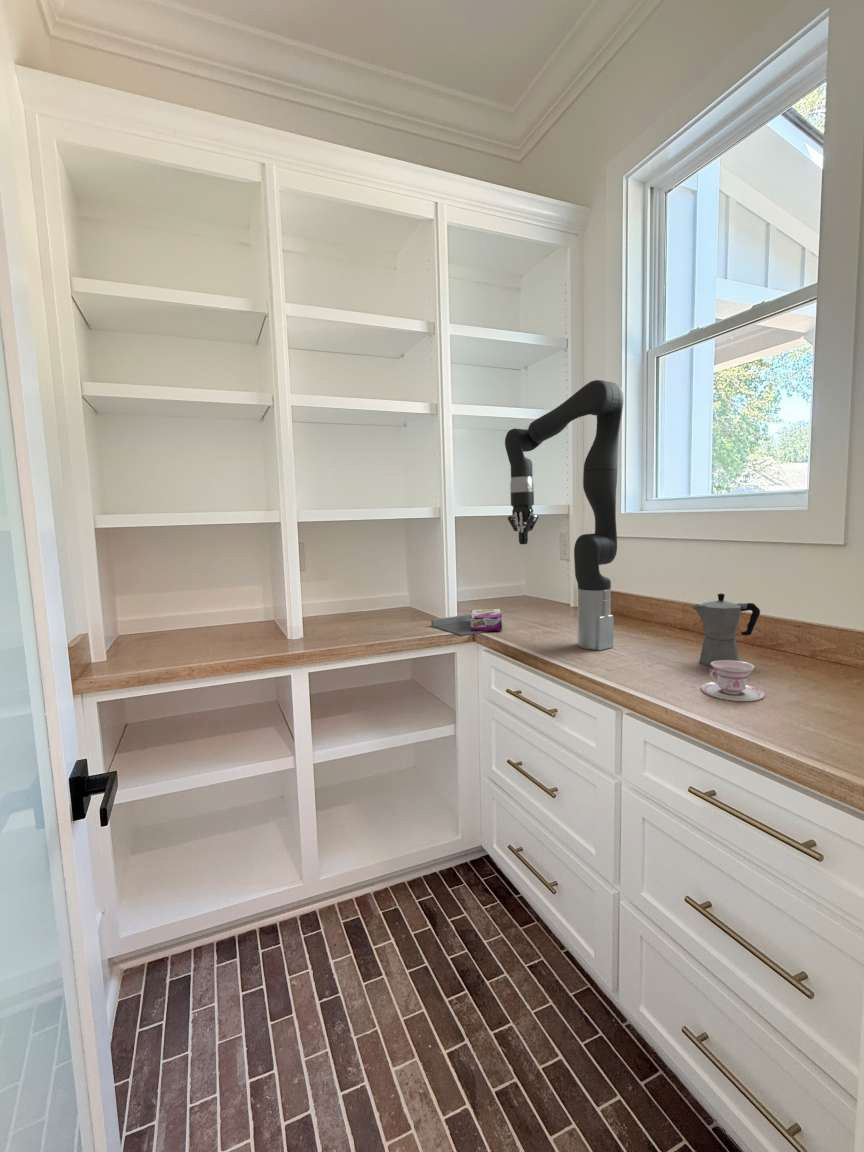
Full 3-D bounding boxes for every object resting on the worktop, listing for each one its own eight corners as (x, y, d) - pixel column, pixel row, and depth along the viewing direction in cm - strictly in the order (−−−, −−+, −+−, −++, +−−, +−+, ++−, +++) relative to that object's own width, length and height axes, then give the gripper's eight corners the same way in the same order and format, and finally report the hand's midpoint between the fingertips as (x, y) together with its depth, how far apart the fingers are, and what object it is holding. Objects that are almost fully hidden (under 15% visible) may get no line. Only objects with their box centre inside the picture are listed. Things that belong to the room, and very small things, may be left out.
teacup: (741, 683, 120) (742, 656, 119) (778, 701, 108) (779, 671, 108) (689, 685, 120) (690, 658, 119) (720, 704, 108) (721, 674, 107)
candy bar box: (469, 617, 180) (470, 609, 196) (469, 631, 180) (471, 622, 197) (502, 616, 179) (501, 608, 195) (502, 630, 179) (501, 621, 195)
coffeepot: (694, 667, 133) (696, 596, 131) (687, 657, 142) (688, 590, 140) (764, 669, 129) (767, 596, 127) (752, 659, 138) (754, 591, 136)
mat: (499, 629, 184) (499, 622, 184) (461, 635, 176) (461, 628, 176) (467, 620, 201) (467, 614, 200) (431, 626, 192) (431, 619, 192)
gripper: (544, 489, 170) (545, 543, 172) (517, 492, 181) (518, 543, 183) (527, 489, 166) (528, 545, 168) (500, 492, 177) (501, 544, 179)
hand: (523, 544), depth 175 cm, fingers closed
